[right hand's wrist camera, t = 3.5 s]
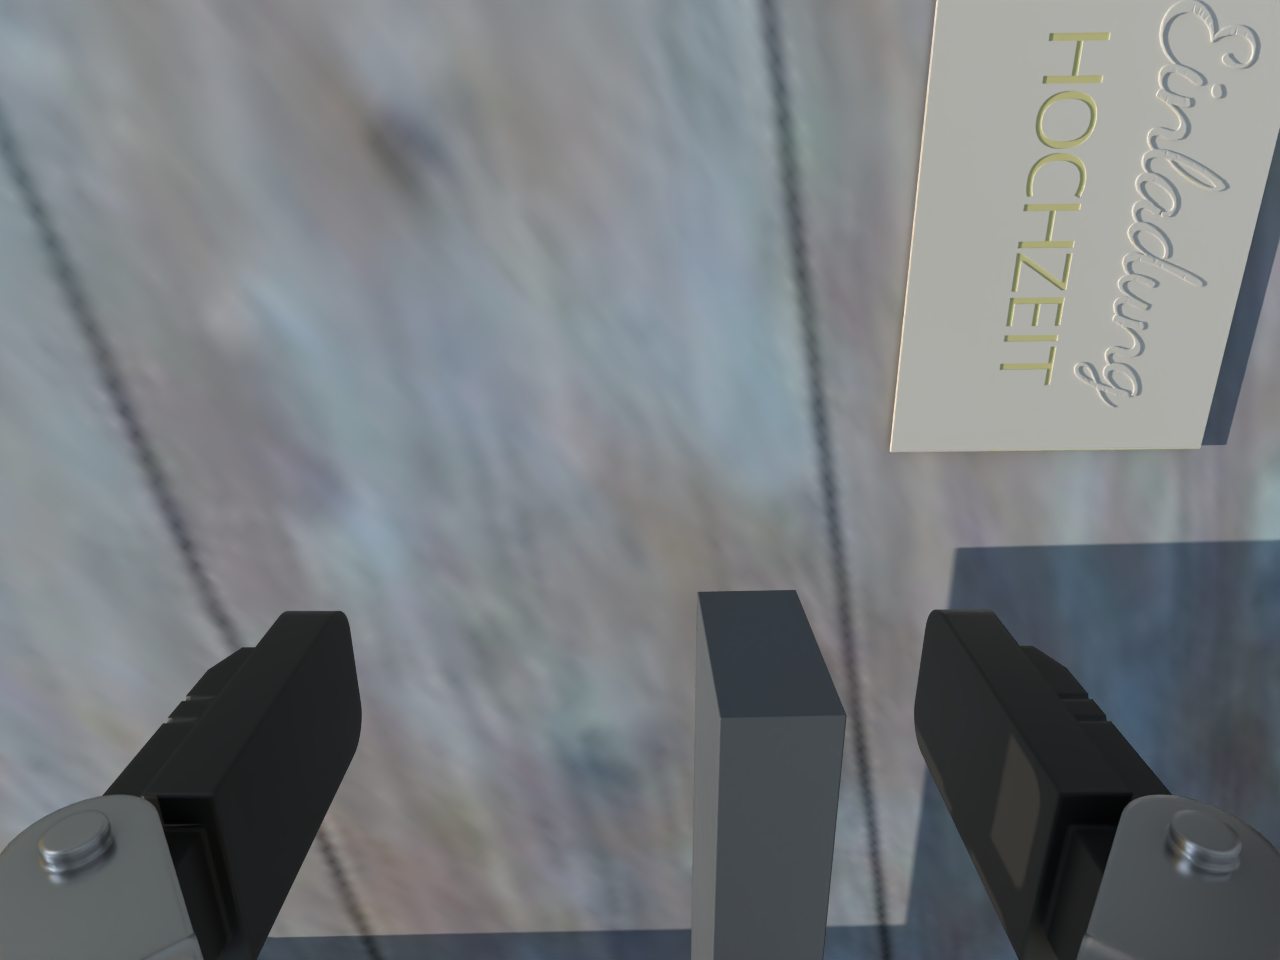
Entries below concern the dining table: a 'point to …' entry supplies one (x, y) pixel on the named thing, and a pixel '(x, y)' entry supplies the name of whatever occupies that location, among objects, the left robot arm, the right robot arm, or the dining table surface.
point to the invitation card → (1082, 220)
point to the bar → (762, 780)
